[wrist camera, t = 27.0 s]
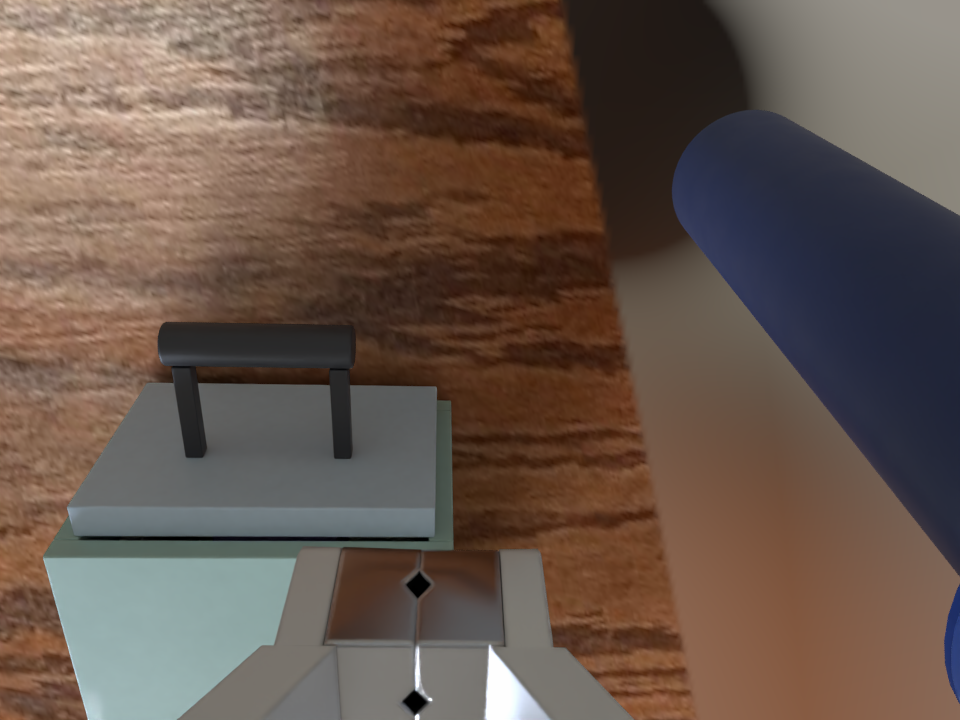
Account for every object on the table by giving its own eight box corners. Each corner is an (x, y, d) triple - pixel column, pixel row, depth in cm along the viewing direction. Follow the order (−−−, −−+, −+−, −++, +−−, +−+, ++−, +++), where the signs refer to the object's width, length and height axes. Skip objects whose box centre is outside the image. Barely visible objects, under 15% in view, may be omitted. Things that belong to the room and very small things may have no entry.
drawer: (126, 265, 30) (30, 367, 23) (438, 271, 30) (437, 373, 23) (190, 630, 38) (135, 784, 32) (433, 630, 39) (431, 781, 32)
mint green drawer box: (143, 396, 33) (41, 556, 25) (451, 400, 34) (453, 557, 26) (189, 650, 40) (121, 844, 32) (444, 649, 41) (445, 839, 32)
